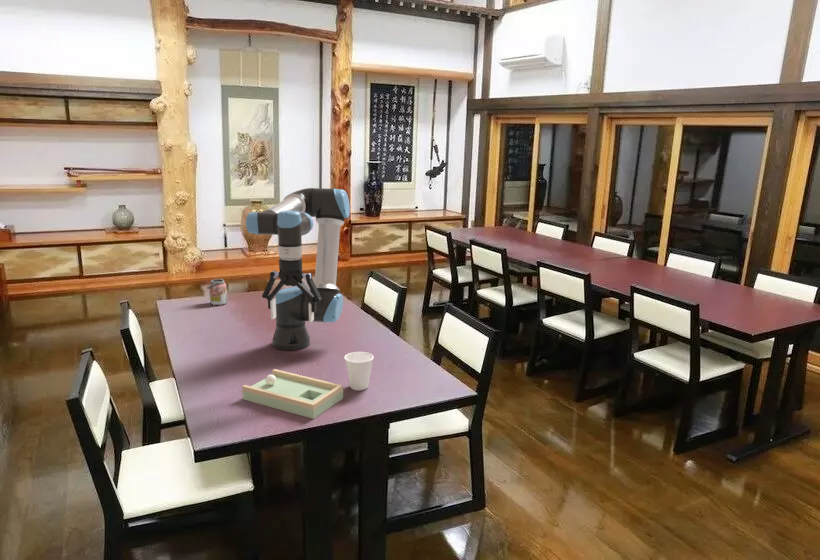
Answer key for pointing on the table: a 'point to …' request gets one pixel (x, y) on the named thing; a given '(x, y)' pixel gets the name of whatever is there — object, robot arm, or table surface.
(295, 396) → the green tray with hole
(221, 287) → the beverage can
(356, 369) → the cup
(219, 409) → the table surface
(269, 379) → the ball
